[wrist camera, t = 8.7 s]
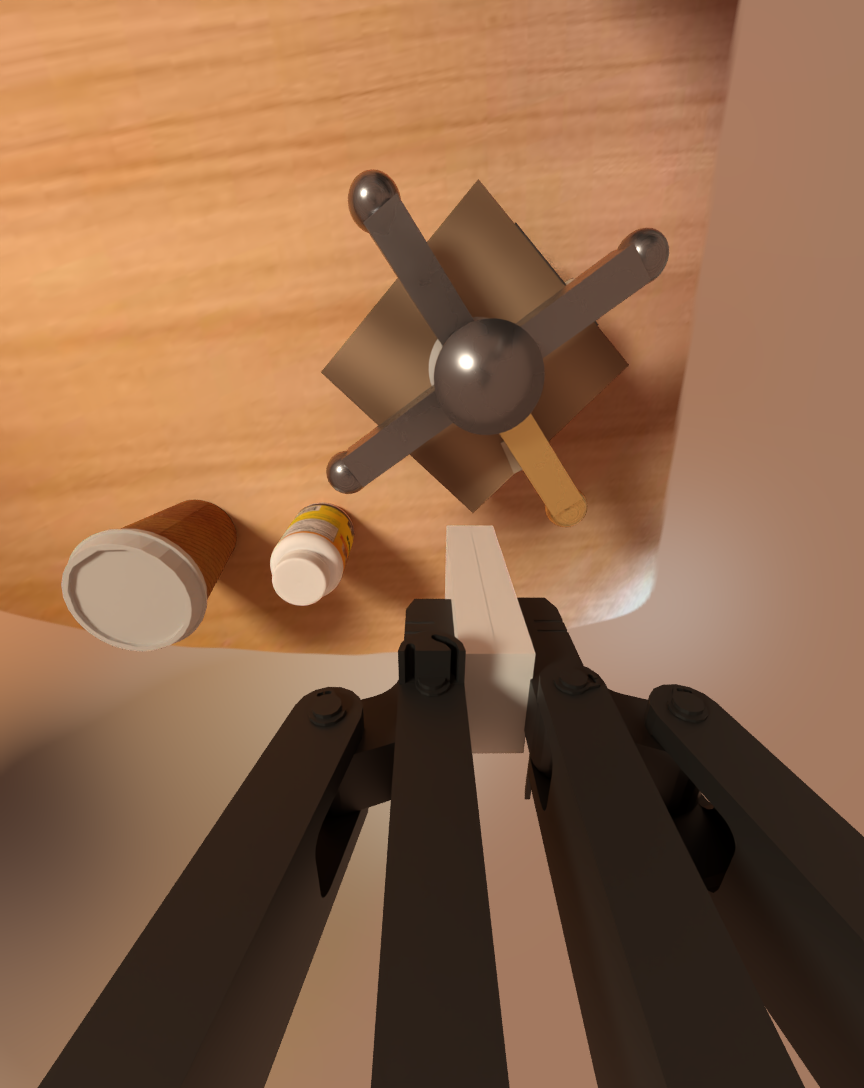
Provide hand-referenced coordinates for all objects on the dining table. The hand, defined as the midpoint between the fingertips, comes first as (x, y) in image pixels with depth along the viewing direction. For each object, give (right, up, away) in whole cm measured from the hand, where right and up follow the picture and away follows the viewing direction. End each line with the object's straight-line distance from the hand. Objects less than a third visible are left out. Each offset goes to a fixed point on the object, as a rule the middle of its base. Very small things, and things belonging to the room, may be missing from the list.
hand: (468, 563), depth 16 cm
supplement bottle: (-11, +2, +28) cm, 30 cm away
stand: (+1, +15, +22) cm, 27 cm away
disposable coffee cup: (-22, +2, +28) cm, 36 cm away
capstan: (+2, +12, +14) cm, 19 cm away
